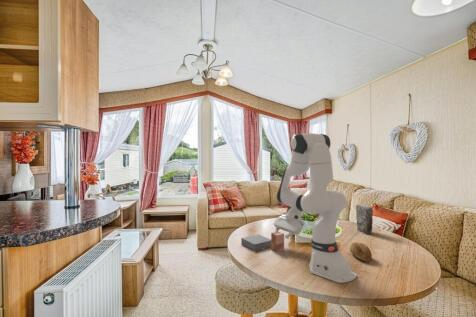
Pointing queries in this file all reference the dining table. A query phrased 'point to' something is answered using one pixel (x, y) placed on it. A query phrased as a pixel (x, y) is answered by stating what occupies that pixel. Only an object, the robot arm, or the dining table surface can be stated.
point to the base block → (256, 242)
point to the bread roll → (361, 251)
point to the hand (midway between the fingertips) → (280, 235)
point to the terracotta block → (277, 241)
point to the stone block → (364, 218)
